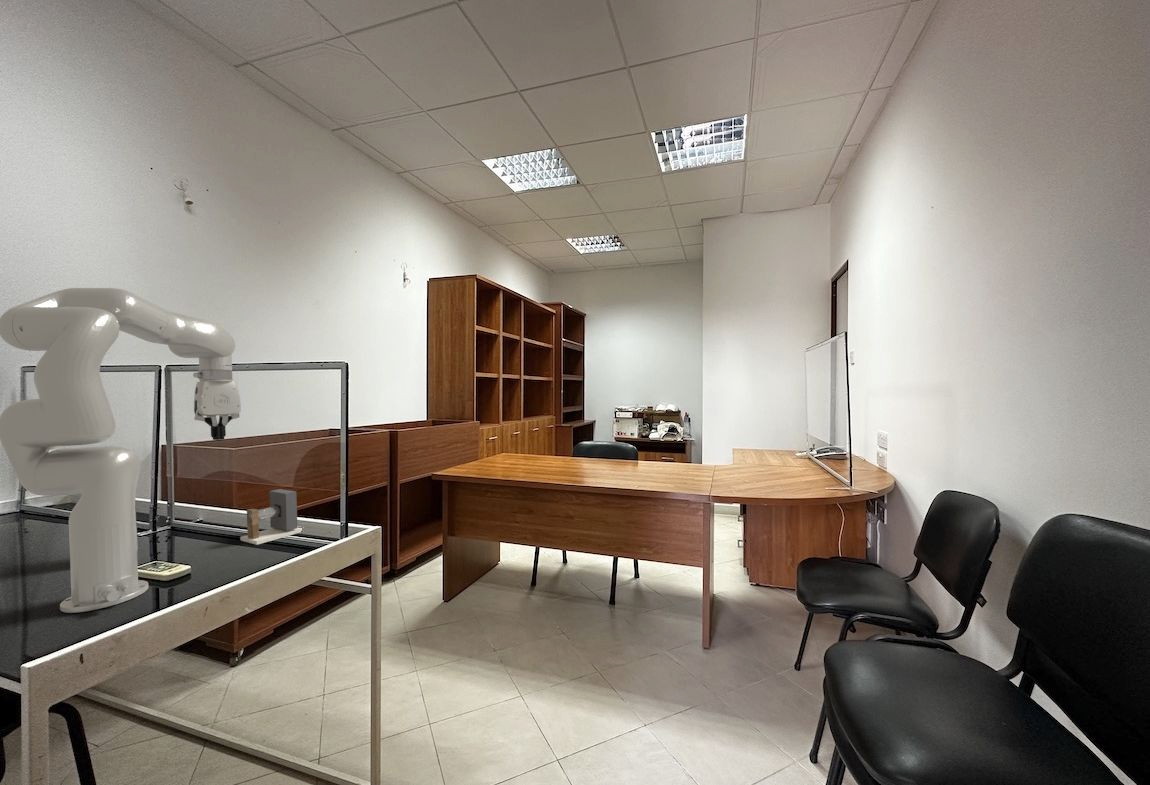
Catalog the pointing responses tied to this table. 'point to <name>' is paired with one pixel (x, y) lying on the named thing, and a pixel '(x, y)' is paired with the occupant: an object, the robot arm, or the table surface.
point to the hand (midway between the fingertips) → (218, 439)
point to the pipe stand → (265, 535)
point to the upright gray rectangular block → (284, 509)
